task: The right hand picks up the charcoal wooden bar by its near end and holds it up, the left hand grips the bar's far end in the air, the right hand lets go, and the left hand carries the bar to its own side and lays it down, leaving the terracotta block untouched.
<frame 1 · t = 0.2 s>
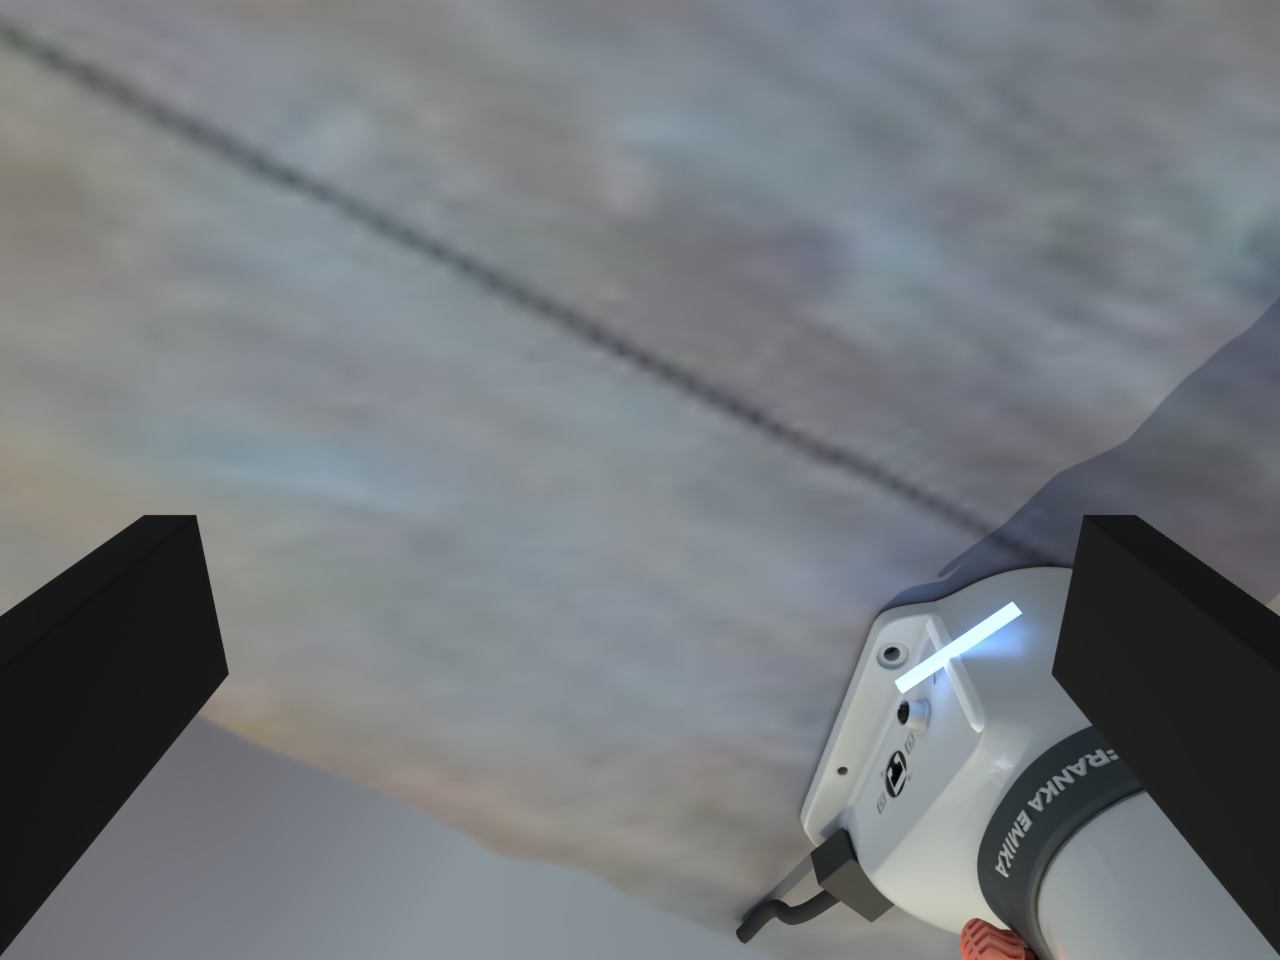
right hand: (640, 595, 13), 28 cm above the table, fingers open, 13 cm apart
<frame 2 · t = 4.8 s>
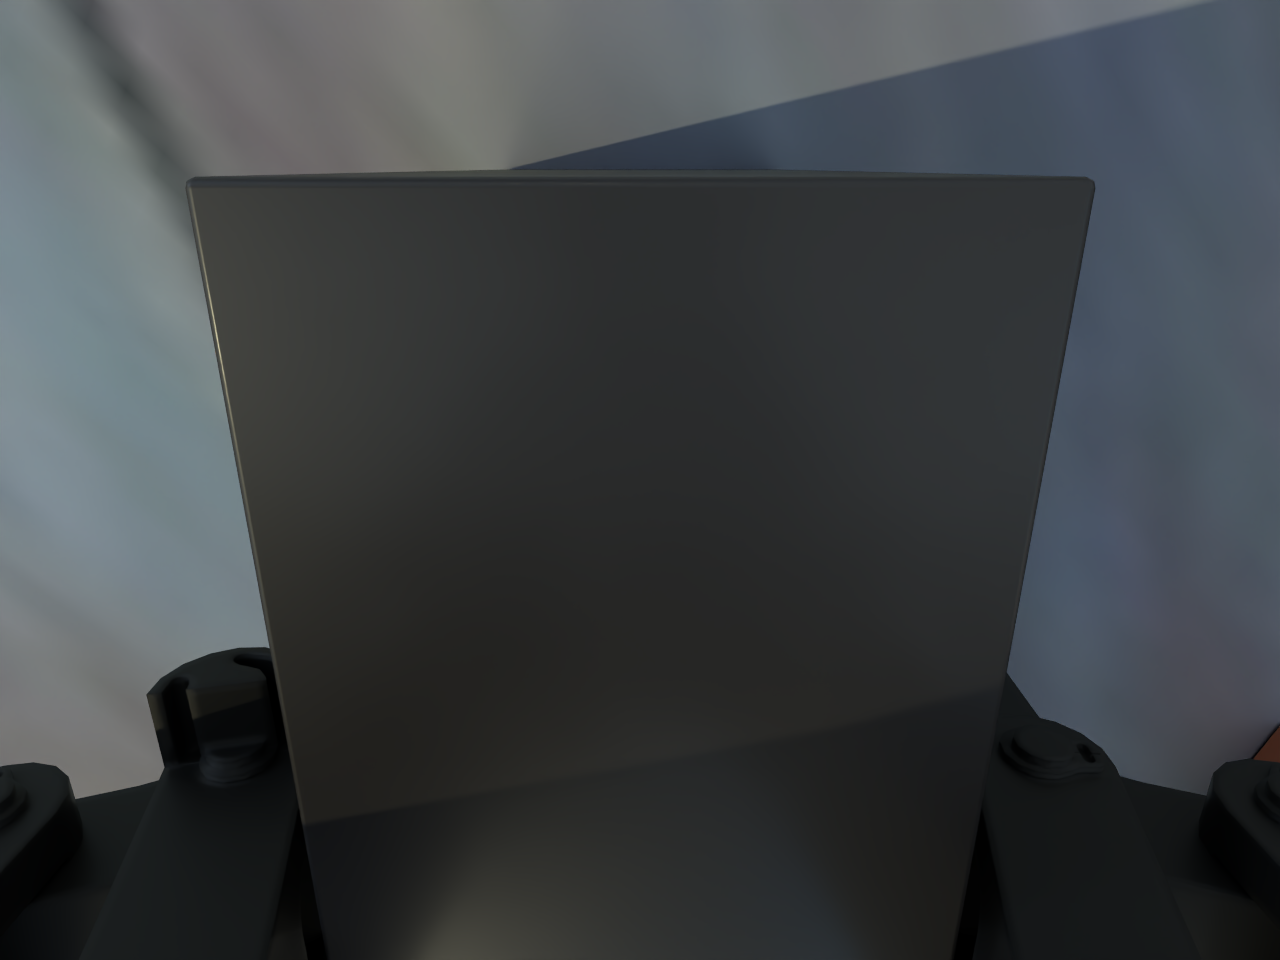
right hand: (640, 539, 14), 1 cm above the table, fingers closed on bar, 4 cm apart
bar: (640, 944, 19), on the table, touching right hand
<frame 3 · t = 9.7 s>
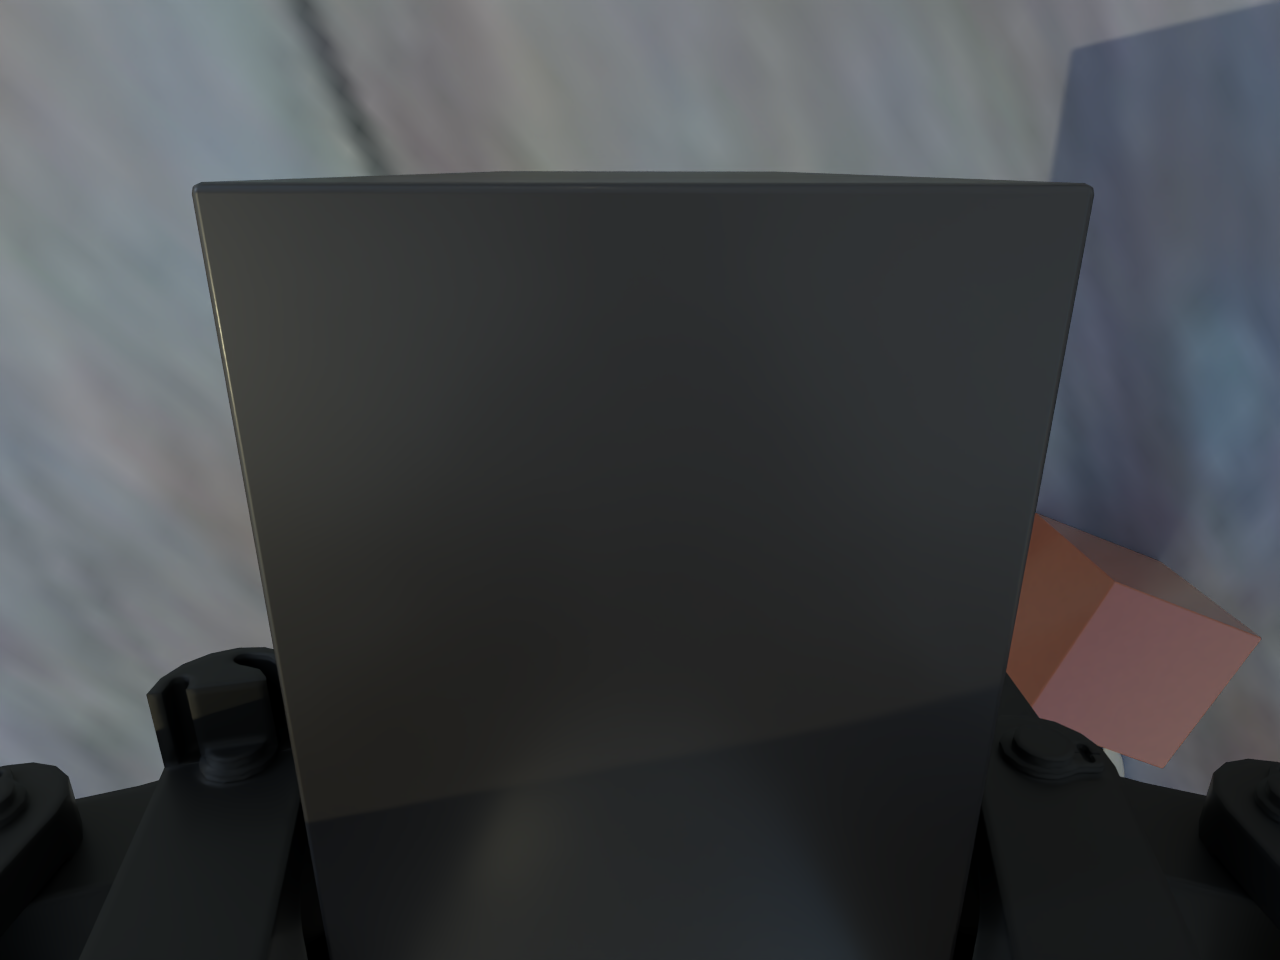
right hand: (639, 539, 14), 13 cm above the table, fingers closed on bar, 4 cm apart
terracotta block: (1059, 597, 29), on the table
bar: (639, 944, 19), point 11 cm above the table, touching right hand, left hand
when the right hand's fingers open (13 cm above the table, at t = 10.5 s): bar stays where it is, held by the left hand.
when the left hand's fingers open (6 cm above the table, at t = 16.9 s): bar drops 1 cm, on the table.
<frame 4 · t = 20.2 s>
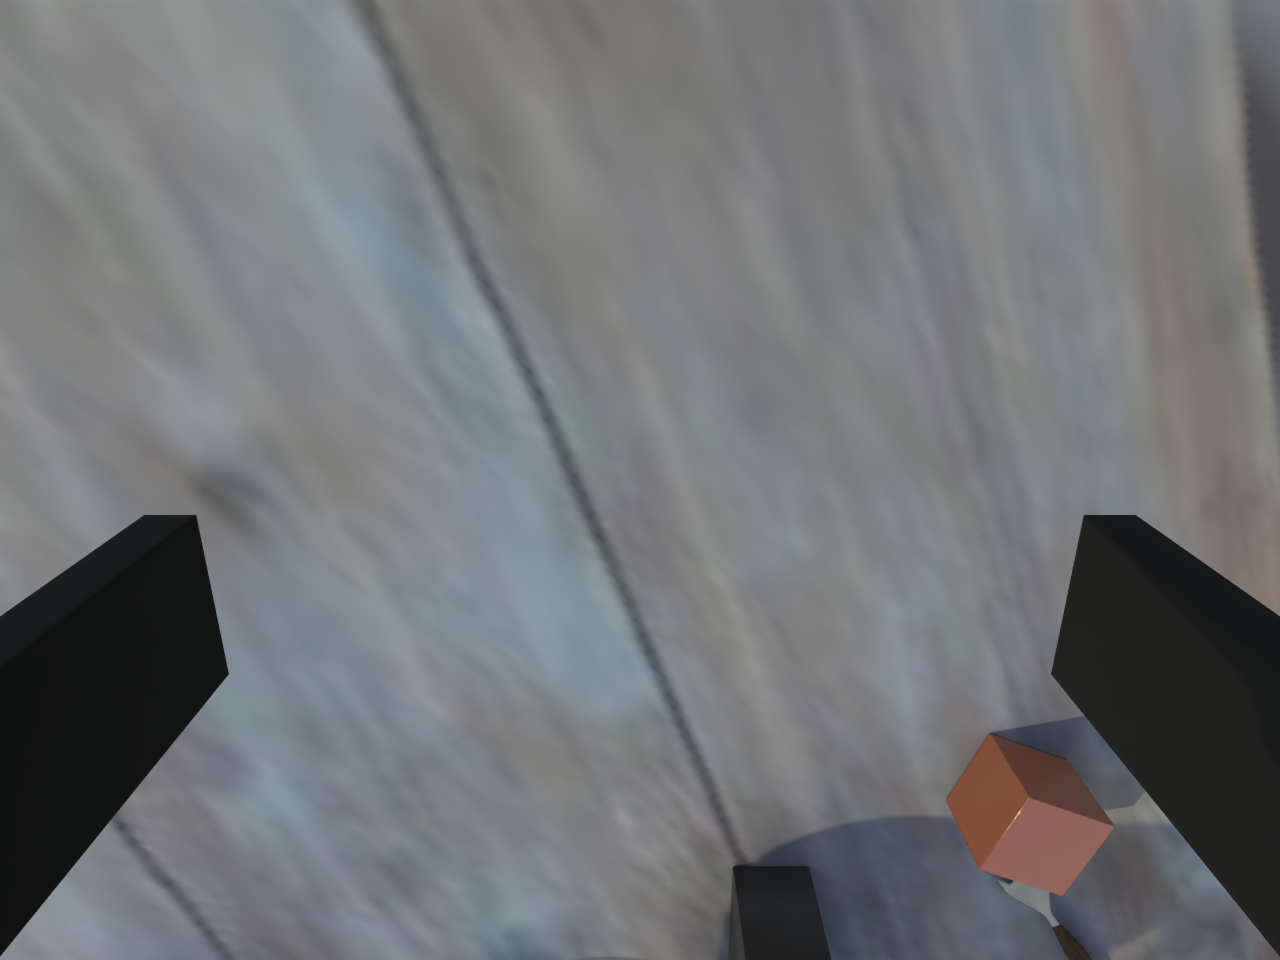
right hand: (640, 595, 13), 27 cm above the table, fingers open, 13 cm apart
terracotta block: (1005, 780, 47), on the table
fork: (1057, 925, 51), on the table
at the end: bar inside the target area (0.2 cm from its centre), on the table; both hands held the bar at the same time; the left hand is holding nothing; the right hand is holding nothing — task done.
